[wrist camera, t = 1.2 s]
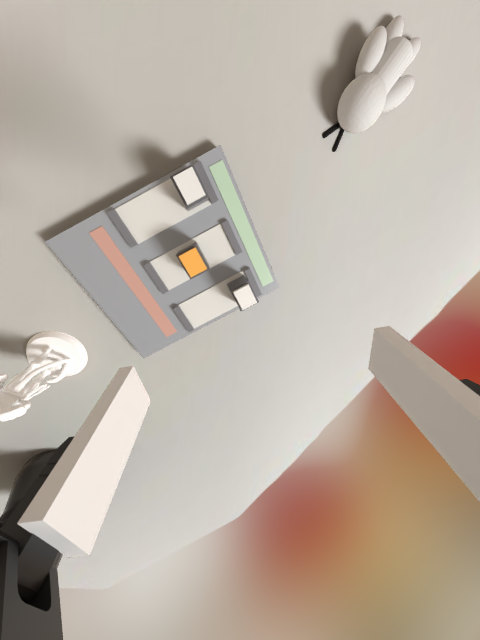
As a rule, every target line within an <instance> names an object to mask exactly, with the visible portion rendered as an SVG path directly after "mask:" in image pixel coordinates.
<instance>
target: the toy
mask: <svg viewBox="0 0 480 640" xmlns="http://www.w3.org/2000/svg"><path fill="white" fill-rule="evenodd" d="M403 28H404V20H403V17H402V16H397V17H395V18H394V19H393V20H392V21H391V22H390V23H389V25H388V26H387V28H386V29H385V27H384V26H378V27H377V28H375V29H374V30H373V31H372V32H371V34H370V35H369V36H368V38H367V39H366V41H365V43H364V45H363V47H362V49H361V52H360V54H359V57H358V60H357V64H356V70H355V79H354V80H353V81H352V82H351V83H350V84H349V85H348V86H347V87H346V88H345V90H344V92H343V93H342V95H341V98H340V100H339V104H338V109H337V117H338V123H337V124H335V125H334V126H332V127H331V128H330V129H328V130H327V131H326V132H324V133H323V138H325V137H327V136H328V135H330V134H331V133H332V132H334V131H335V130H336V129H338V128H339V127H341V130H340V132H339V135H338V137H337V139H336V142H335V144H334V147H333V149H332V151H333V152H335V151H336V149H337V147H338V144H339V142H340V140H341V137H342V135H343V132H344V130H345V131H346V132H349V133H359V132H362V131H364V130H366V129H368V128H369V127H370V126H371V125H372V124H374V122H375V121H376V120H377V119H378V117H379V116H380V114H381V113H385V112H388V111H390V110H392V109H394V108H395V107H397V106H398V105H399V104H400V103H402V102H403V101H404V100H405V98H406V97H407V96H408V95H409V93H410V92H411V90H412V88H413V86H414V81H415V79H414V77H413V76H411V75H405V76H402V77H400V76H401V75H402V73H403V72H404V71H405V69H406V68H407V67H408V66H409V64H410V63H411V62H412V61H413V59H414V58H415V56H416V55H417V53H418V51H419V48H420V45H421V40H420V38H413V39H411V40H408V39H407V38H405V37H402V33H403Z"/></svg>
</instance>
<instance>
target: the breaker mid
mask: <svg viewBox="0 0 480 640" xmlns="http://www.w3.org/2000/svg"><path fill="white" fill-rule="evenodd" d="M176 256H177V258H178V260H179V261H180V263H181V265H182V266H183V268H184V270H185V271H186V273H187V275H188V276H189V278H190V280H191V279H193V278H194V277H196V276H198V275H200V274H202V273H204V272H206V271H208V270H209V269H210V267H209V264H208V262H207V260H206V258H205V256H204V254H203V253H202V251H201V249H200V247H199V245H198V243H197V242H195V243H194V244H192V245H190V246H188V247H186V248H184V249H182V250H181V251H179V252H178V253H177V254H176Z"/></svg>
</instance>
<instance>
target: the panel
mask: <svg viewBox="0 0 480 640" xmlns="http://www.w3.org/2000/svg"><path fill="white" fill-rule="evenodd" d="M192 164H194V166H195V168H196V171H197V173H198V175H199V177H200V179H201V181H202V183H203V185H204V187H205V190H206V192H207V194H208V196H209V198H208V201H206V202H204V203H202V204H201V205H199V206H197V207H195V208H193V209H191V210H189V211H188V210H187V208H186V206H185V205H184V203H183V201H182V199H181V197H180V195H179V193H178V191H177V189H176V187H175V186H174V184H173V182H172V180H171V178H170V176H172V175H173V174H175V173H177V172H179V171H181V170H182V169H184V168H186V167H188V166H190V165H192ZM195 242H197V243H198V245H199V247H200V249H201V251H202V253H203V254H204V256H205V258H206V260H207V262H208V264H209V267H210V269H209V270H208V271H206V272H204V273H202V274H200V275H198V276H196V277H194V278H193V279H191V280H190V278H189V276H188V275H187V273H186V271H185V270H184V268H183V266H182V265H181V263H180V261H179V260H178V258H177V256H176V254H177V253H178V252H179V251H181V250H182V249H184V248H186V247H188V246H190V245H192V244H194V243H195ZM45 243H46V244H47V245H48V246H49V248H50V249H51V250H52V251H53V252H54V253H55V255H56V256H57V257H58V258H59V259H60V260H61V262H62V263H63V264H64V265H65V266H66V268H67V269H68V270H69V271H70V272H71V273H72V275H73V276H74V277H75V278H76V279H77V281H78V282H79V283H80V284H81V285H82V286H83V288H84V289H85V290H86V291H87V292H88V293H89V295H90V296H91V297H92V298H93V299H94V301H95V302H96V303H97V304H98V305H99V306H100V308H101V309H102V310H103V311H104V312H105V314H106V315H107V316H108V317H109V318H110V319H111V321H112V322H113V323H114V324H115V325H116V326H117V328H118V329H119V330H120V331H121V332H122V334H123V335H124V336H125V337H126V338H127V339H128V341H129V342H130V343H131V344H132V345H133V346H134V348H135V349H136V350H137V351H138V352H139V354H140V355H141V356H142V357H143V358H145V357H147V356H149V355H151V354H153V353H155V352H157V351H159V350H161V349H163V348H165V347H166V346H168V345H170V344H172V343H174V342H176V341H178V340H180V339H182V338H184V337H186V336H187V335H189V334H191V333H193V332H195V331H197V330H199V329H201V328H203V327H205V326H207V325H209V324H210V323H212V322H214V321H216V320H218V319H220V318H222V317H224V316H226V315H228V314H230V313H231V312H233V311H235V310H237V309H239V307H238V305H237V303H236V301H235V299H234V297H233V296H232V294H231V292H230V290H229V288H228V286H227V283H229V282H231V281H233V280H235V279H237V278H239V277H241V276H243V275H244V276H245V277H246V278H247V279H248V280H249V282H250V284H251V286H252V289H253V291H254V293H255V295H256V297H257V299H258V298H260V297H262V296H264V295H266V294H268V293H270V292H272V291H274V290H275V289H277V288H279V285H278V283H277V280H276V278H275V276H274V273H273V271H272V268H271V266H270V264H269V261H268V259H267V256H266V254H265V251H264V249H263V247H262V244H261V242H260V239H259V237H258V235H257V232H256V230H255V227H254V225H253V222H252V220H251V218H250V215H249V213H248V210H247V208H246V206H245V203H244V201H243V198H242V196H241V193H240V191H239V189H238V186H237V184H236V181H235V179H234V177H233V174H232V172H231V169H230V167H229V164H228V162H227V160H226V157H225V155H224V152H223V150H222V148H221V145H219V146H217V147H216V148H214V149H212V150H210V151H208V152H207V153H205V154H203V155H201V156H199V157H198V158H196V159H194V160H192V161H190V162H188V163H187V164H185V165H183V166H181V167H179V168H178V169H176V170H174V171H172V172H170V173H169V174H167V175H165V176H163V177H161V178H160V179H158V180H156V181H154V182H152V183H150V184H149V185H147V186H145V187H143V188H141V189H140V190H138V191H136V192H134V193H132V194H131V195H129V196H127V197H125V198H123V199H122V200H120V201H118V202H116V203H114V204H112V205H111V206H109V207H107V208H105V209H103V210H102V211H100V212H98V213H96V214H94V215H93V216H91V217H89V218H87V219H85V220H84V221H82V222H80V223H78V224H76V225H74V226H73V227H71V228H69V229H67V230H65V231H64V232H62V233H60V234H58V235H56V236H55V237H53V238H51V239H49V240H47V241H46V242H45Z"/></svg>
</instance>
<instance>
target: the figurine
mask: <svg viewBox="0 0 480 640" xmlns="http://www.w3.org/2000/svg"><path fill="white" fill-rule="evenodd" d="M26 356H27V359H28V361H29V363H30V366H29V367H27V368H26V370H25V371H24V372H22V373H20V374H16V375H15V376H14V377H13V378H12V379H11V380H10V381H9V382H8V383H7V384H6V385H5V386H4V387H3V384H4V382H5V381H6V380H7V378H8V376H7V375H6V374H0V390H1V391H0V421H8V420H12V419H15V418H16V417H20V416H23V414H25V413H26V409H28V408H29V407H30V404H31V403H30V402H29V401H27V400H29V399H30V398H32V397H33V396H35V395H37V394H39V393H41V392H42V391H44V390H46V389H47V388H48V387H50V386H51V385H50V386H48V387H46V386H47V384H43V385H41V386H40V384H39V383H40V382H41V381H42V380H43V379H44V377H45V376H52V377H56V378H54V379H48V380H46V381H45V382H46V383H55V382H58V381H59V380H61V379H62V378H63V377H65V376H71V375H74V374H77V373H78V372H80V371H81V370H82V369H83V368H84V367H85V366H86V363H87V352H86V350H85V348H84V346H83V345H82V344H81V343H80V342H79V341H78V340H77V339H75V338H74V337H72V336H70V335H68V334H66V333H63V332H58V331H45V332H41V333H38V334H36V335H34V336H33V337H32V338H31V339H30V340H29V341H28V343H27V346H26ZM34 369H35V370H34ZM39 372H40V373H41V374H38V375H37V376H36V377H35V378H34V379H32V380H31V381H29V380H30V379H31V378H32V377H33V376H34V375H36V374H37V373H39ZM28 381H29V382H28ZM27 382H28V383H27ZM26 383H27V384H26ZM39 386H40V387H39ZM45 387H46V388H45ZM40 388H41V389H40ZM39 389H40V390H39ZM37 390H39V391H37ZM36 391H37V392H36ZM35 392H36V393H35ZM33 393H35V394H33ZM32 394H33V395H32ZM14 404H16V406H13V405H14ZM17 404H20V405H17ZM12 406H13V407H12Z"/></svg>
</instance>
